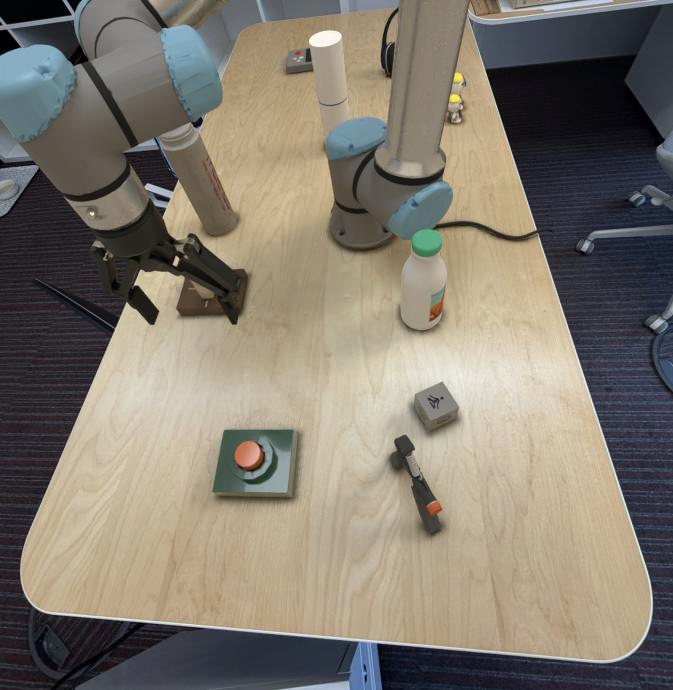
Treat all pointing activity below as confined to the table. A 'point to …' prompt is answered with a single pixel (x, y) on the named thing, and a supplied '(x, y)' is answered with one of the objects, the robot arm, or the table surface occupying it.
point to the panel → (196, 305)
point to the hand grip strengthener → (417, 484)
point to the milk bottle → (423, 281)
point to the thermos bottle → (198, 178)
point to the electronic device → (299, 60)
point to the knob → (203, 291)
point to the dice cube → (435, 406)
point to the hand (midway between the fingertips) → (195, 318)
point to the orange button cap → (249, 455)
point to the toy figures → (456, 98)
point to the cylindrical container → (330, 79)
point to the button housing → (271, 473)
